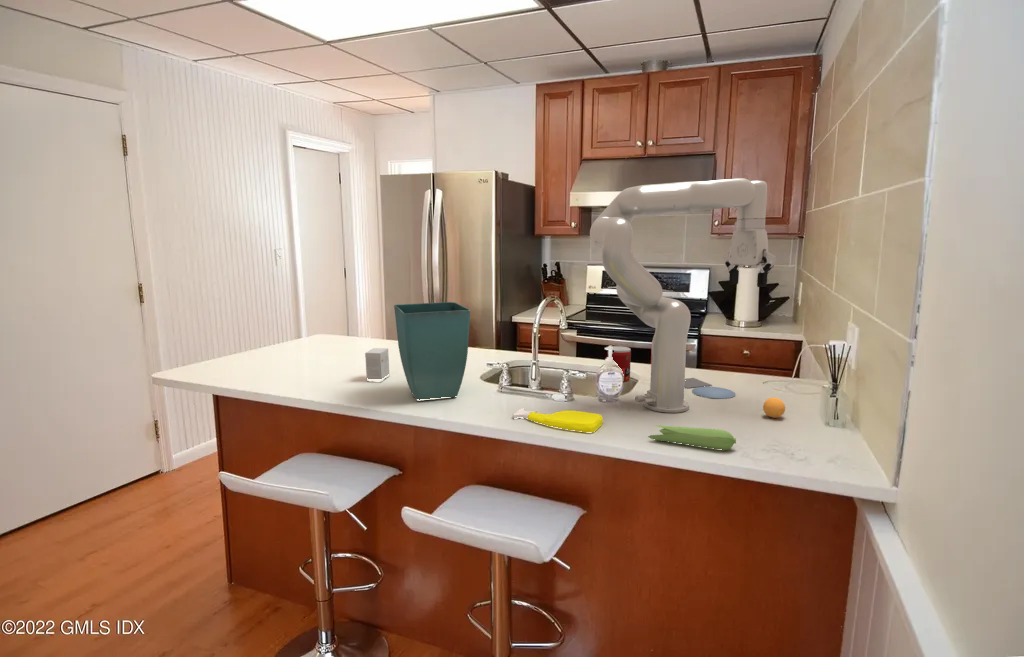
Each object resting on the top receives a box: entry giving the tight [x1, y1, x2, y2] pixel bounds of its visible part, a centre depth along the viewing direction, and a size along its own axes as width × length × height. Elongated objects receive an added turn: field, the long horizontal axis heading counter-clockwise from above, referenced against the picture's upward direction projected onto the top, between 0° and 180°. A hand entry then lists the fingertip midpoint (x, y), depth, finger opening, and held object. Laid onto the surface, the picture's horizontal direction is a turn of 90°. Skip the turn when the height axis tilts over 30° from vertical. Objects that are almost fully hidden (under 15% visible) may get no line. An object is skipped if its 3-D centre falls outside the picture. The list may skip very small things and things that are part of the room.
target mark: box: [691, 386, 737, 400], centre depth 175 cm, size 13×13×1 cm
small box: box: [364, 347, 390, 379], centre depth 194 cm, size 8×6×10 cm
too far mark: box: [684, 377, 713, 389], centre depth 186 cm, size 10×10×1 cm
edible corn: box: [647, 424, 737, 451], centre depth 132 cm, size 5×20×5 cm
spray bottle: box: [512, 407, 604, 432], centre depth 150 cm, size 3×11×24 cm
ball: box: [762, 397, 786, 419], centre depth 151 cm, size 6×6×6 cm
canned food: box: [606, 345, 632, 383], centre depth 191 cm, size 8×8×11 cm
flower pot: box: [393, 301, 471, 400], centre depth 173 cm, size 20×20×28 cm
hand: (747, 285), depth 161 cm, fingers open, 9 cm apart
